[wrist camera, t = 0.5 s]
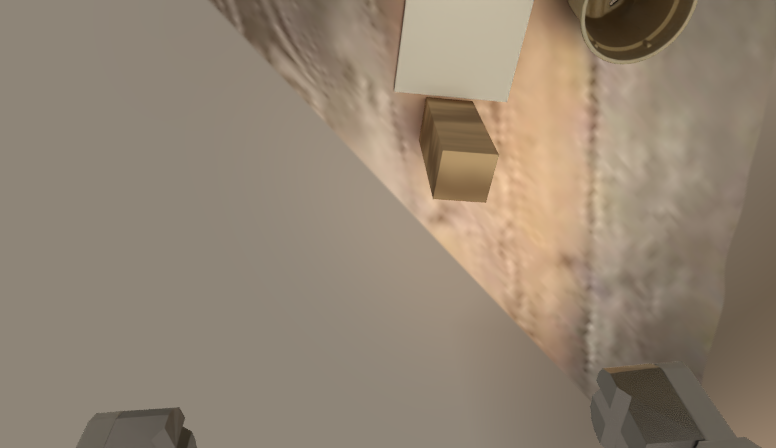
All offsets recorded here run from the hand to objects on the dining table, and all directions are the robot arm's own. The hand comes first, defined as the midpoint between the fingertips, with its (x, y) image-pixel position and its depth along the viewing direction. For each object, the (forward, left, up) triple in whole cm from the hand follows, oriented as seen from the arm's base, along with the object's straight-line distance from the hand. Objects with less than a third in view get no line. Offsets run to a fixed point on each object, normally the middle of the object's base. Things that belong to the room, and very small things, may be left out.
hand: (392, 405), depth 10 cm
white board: (+3, +10, -45) cm, 46 cm away
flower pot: (-1, +22, -45) cm, 51 cm away
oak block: (+14, +10, -45) cm, 48 cm away
